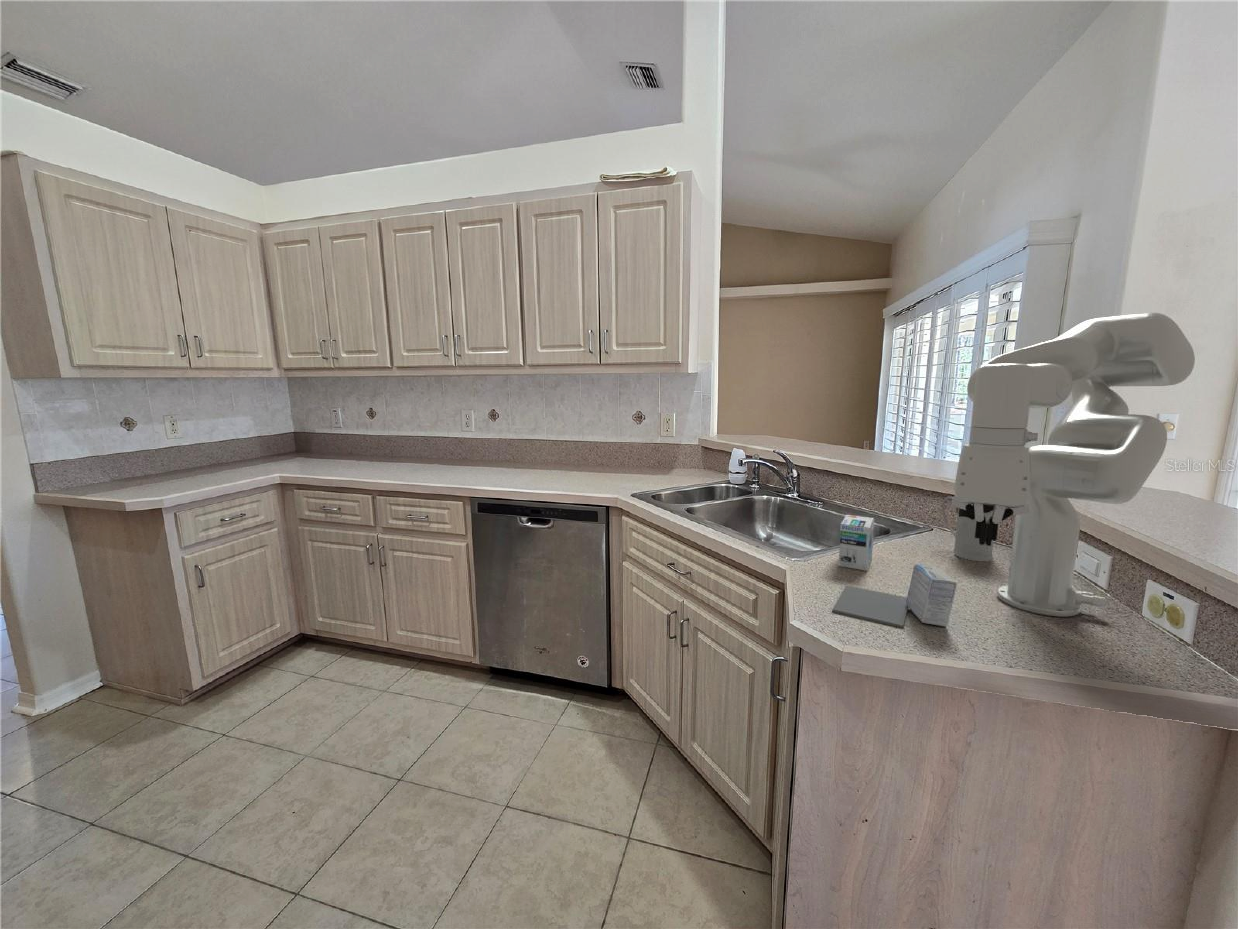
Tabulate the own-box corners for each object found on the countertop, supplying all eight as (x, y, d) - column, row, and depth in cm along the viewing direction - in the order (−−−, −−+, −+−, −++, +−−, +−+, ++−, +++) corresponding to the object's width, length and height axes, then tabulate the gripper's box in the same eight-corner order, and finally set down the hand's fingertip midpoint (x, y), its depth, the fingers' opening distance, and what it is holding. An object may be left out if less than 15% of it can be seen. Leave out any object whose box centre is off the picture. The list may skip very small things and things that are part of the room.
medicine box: (947, 628, 88) (959, 583, 86) (920, 623, 89) (931, 578, 87) (928, 609, 96) (939, 567, 94) (904, 604, 96) (914, 563, 95)
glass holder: (974, 563, 120) (980, 503, 118) (926, 545, 134) (930, 491, 131) (1002, 559, 122) (1009, 501, 120) (952, 542, 136) (957, 489, 133)
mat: (909, 600, 100) (909, 598, 99) (903, 628, 88) (903, 625, 88) (845, 587, 106) (846, 585, 106) (832, 611, 95) (832, 609, 95)
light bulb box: (868, 571, 115) (871, 527, 114) (837, 566, 119) (839, 523, 117) (872, 558, 124) (875, 517, 123) (843, 554, 128) (846, 514, 126)
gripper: (1052, 439, 81) (1037, 545, 84) (944, 434, 90) (934, 531, 92) (1059, 442, 75) (1044, 557, 78) (943, 437, 84) (933, 541, 86)
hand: (984, 543), depth 85 cm, fingers closed
